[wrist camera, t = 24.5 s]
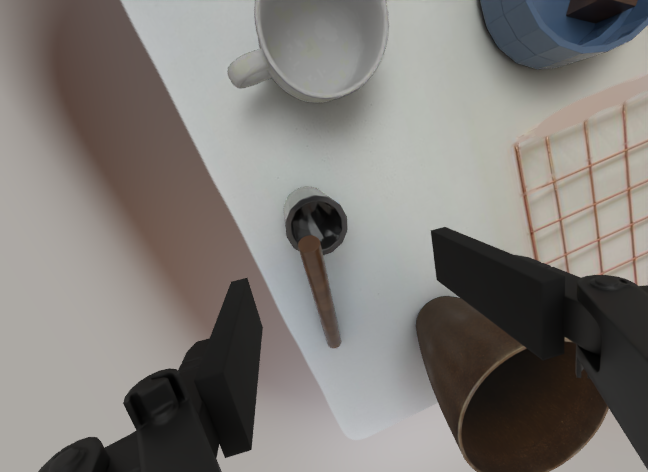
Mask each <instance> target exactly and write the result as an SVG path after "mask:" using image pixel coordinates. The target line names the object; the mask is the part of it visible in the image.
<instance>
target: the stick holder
mask: <svg viewBox="0 0 648 472" xmlns="http://www.w3.org/2000/svg"><path fill="white" fill-rule="evenodd" d="M284 218H285V227H286V236H287V238H288V240H289V241H290V243H291V244H292V246H293V247H294V248H295V249H296V250H298V251H299V248H298V243H299V241H300V240H301V239H302V238H303V237H305V236H309V235H312V236H316V237H317V238H318V239H319V240H320V244H321V248H322V253H323V255H325V254H328V253H331V252H333V251H334V250H335V249H336V248H337V247H338V246H339V245H340V244H342V242H343V240H344V237H345V235H346V233H347V216H346V215H345V213H344V211H343V209H342V207H341V205H340V204H338V203H337V202H336V201H334V200H333V199H332V198H330V197H329V196H327V195H326V194H325V193H323V192H322V191H320V190H319V189H318V188H314V187H308V186H305V187H301V188H298V189H296V190H294V191H293V192H292V193H291V194H290V195H289V196H288V197H287V199H286V201H285V204H284ZM299 252H300V251H299Z"/></svg>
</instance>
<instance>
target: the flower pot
mask: <svg viewBox="0 0 648 472" xmlns="http://www.w3.org/2000/svg"><path fill="white" fill-rule="evenodd" d="M416 330H417V336H418V341H419V346H420V350H421V354H422V358H423V361H424V365H425V368H426V371H427V374H428V377H429V380H430V383H431V385H432V388H433V391H434V393H435V396H436V398H437V401H438V403H439V405H440V408H441V410H442V412H443V415H444V417H445V419H446V421H447V423H448V425H449V427H450V430H451V431H452V434H453V436H454V438H455V440H456V442H457V444H458V446H459V449H460V451H461V453H462V454H463V457H464V459H465V460H466V461H467V463H468V464H469V465H470V466H471V467H472V468H473V469H474V470H475V471H477V472H549V471H551V470H553V469H555V468H557V467H559V466H560V465H562V464H564V463H565V462H566V461H568V460H569V459H570V458H572V457H573V456H574V455H575V454H577V453H578V452H579V451H580V450H581V449H582V448H583V447H584V446H585V445H586V444H587V443H588V442H589V441H590V439H591V438H592V437H593V436H594V435H595V433H596V432H597V430H598V429H599V427H600V426H601V424H602V422H603V420H604V418H605V416H606V414H607V412H608V409H609V407H608V406H607V404H606V402H605V401H604V399H603V398H602V396H601V395H600V393H599V391H598V390H597V388H596V387H595V385H594V383H593V382H592V380H591V379H588V378H587V372H586V371H585V369H583V370H582V372H581V378H577V377H576V373H575V371H576V344H575V343H574V342H572V341H570V340H569V339H567V338H566V337H565V342H564V354H562V355H559V356H556V357H553V358H549V359H546V360H541V359H540V358H539V357H537V356H536V355H535V354H534V353H532V352H531V351H530V350H528V349H527V348H526V347H524V346H523V345H522V344H520V343H519V342H518V341H516V340H515V339H514V338H512V337H511V336H510V335H509V334H507V333H506V332H505V331H503V330H502V329H501V328H499V327H498V326H497V325H495V324H494V323H493V322H491V321H490V320H489V319H488V318H486V317H485V316H484V315H482V314H481V313H480V312H478V311H477V310H476V309H474V308H473V307H472V306H470V305H469V304H468V303H467V302H465V301H464V300H463V299H461V298H457V297H450V296H443V297H438V298H435V299H433V300H431V301H430V302H428V303H427V304H426V305H425V306H424V307H423V308H422V309H421V311H420V313H419V315H418V317H417V321H416Z"/></svg>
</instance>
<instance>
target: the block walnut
mask: <svg viewBox="0 0 648 472" xmlns="http://www.w3.org/2000/svg"><path fill="white" fill-rule="evenodd" d="M637 1H638V0H570V3H569V6H568V10H567V14H566V16H568V17H572V18H576V19H580V20H584V21H588V22H592V23H598V22H600V21H602V20H605V19H607V18H609V17H612V16H614V15H616V14H619V13H621V12H623V11H626V10H628V9H630V8H633V7H635V6H636V4H637Z"/></svg>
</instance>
